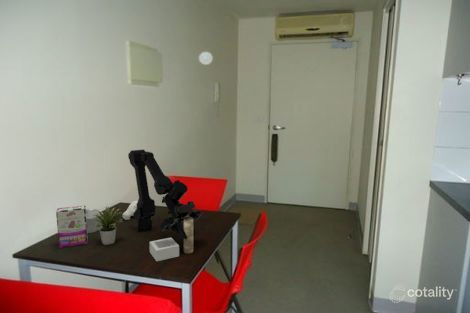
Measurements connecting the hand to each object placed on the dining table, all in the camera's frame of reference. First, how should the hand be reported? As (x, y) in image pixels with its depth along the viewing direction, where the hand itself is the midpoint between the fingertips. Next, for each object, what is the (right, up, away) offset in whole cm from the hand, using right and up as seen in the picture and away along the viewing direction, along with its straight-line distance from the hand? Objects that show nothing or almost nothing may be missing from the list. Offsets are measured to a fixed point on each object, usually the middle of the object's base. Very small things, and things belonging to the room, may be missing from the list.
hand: (190, 237), depth 132 cm
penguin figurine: (-38, 0, +41) cm, 56 cm away
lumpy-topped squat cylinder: (-54, -2, +26) cm, 60 cm away
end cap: (-11, -7, -1) cm, 13 cm away
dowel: (-1, -6, +2) cm, 7 cm away
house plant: (-38, -5, +8) cm, 39 cm away
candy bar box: (-52, -5, +7) cm, 53 cm away
